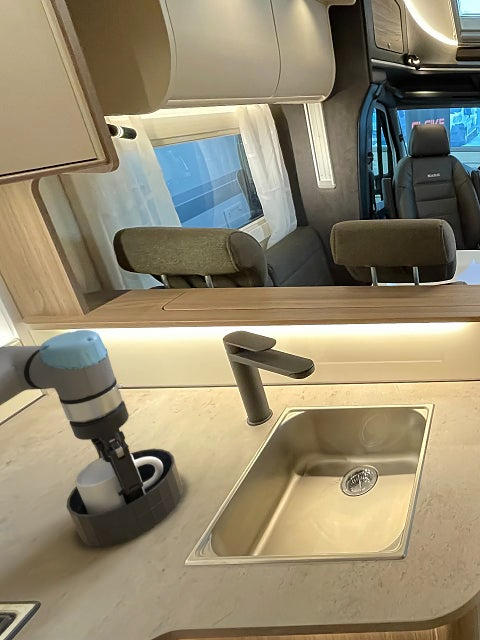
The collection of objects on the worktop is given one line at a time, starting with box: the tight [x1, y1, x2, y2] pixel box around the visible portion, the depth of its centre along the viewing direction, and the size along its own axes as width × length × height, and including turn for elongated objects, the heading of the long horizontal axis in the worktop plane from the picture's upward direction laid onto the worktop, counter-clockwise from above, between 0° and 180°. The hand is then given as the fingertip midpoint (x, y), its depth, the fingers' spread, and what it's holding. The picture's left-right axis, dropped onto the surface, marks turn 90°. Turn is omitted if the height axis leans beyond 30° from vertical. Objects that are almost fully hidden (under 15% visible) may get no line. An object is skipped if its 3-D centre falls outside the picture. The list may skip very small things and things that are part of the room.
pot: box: [66, 448, 184, 548], centre depth 84 cm, size 16×16×8 cm
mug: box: [74, 454, 163, 515], centre depth 83 cm, size 12×8×10 cm
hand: (131, 499), depth 85 cm, fingers closed on mug, 8 cm apart
